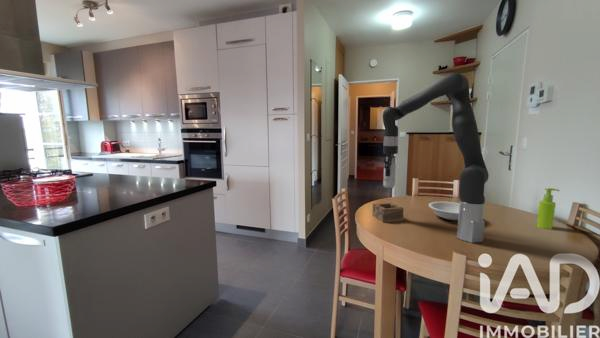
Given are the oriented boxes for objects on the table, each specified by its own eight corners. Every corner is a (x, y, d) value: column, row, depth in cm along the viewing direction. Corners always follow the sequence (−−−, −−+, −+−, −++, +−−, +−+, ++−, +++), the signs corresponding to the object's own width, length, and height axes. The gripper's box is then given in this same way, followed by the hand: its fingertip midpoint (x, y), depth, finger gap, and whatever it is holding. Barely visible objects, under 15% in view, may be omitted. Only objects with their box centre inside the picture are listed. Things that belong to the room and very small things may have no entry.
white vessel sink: (463, 212, 159) (464, 201, 158) (487, 226, 136) (488, 214, 135) (421, 211, 162) (422, 200, 161) (438, 225, 138) (438, 212, 137)
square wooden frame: (403, 220, 145) (403, 208, 144) (382, 222, 142) (383, 209, 141) (391, 214, 156) (391, 202, 155) (372, 215, 154) (372, 203, 153)
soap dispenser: (557, 229, 131) (563, 190, 128) (541, 228, 132) (546, 189, 130) (549, 225, 137) (554, 187, 134) (533, 224, 138) (538, 187, 135)
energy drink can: (396, 188, 143) (397, 160, 141) (385, 188, 144) (386, 160, 142) (392, 186, 149) (393, 159, 147) (381, 186, 150) (382, 159, 148)
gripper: (394, 145, 135) (393, 178, 138) (400, 144, 147) (399, 174, 150) (379, 145, 139) (378, 176, 142) (387, 144, 151) (386, 173, 154)
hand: (389, 175), depth 146 cm, fingers closed on energy drink can, 6 cm apart
